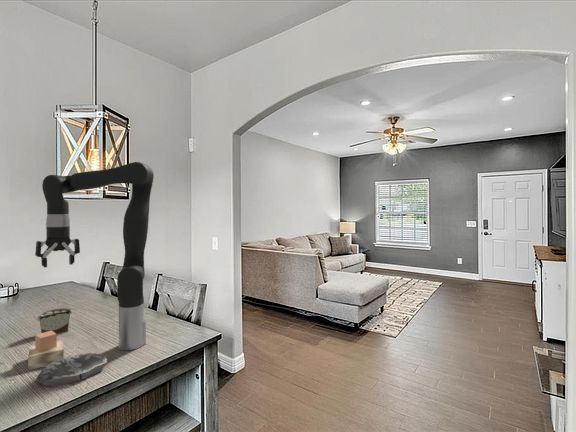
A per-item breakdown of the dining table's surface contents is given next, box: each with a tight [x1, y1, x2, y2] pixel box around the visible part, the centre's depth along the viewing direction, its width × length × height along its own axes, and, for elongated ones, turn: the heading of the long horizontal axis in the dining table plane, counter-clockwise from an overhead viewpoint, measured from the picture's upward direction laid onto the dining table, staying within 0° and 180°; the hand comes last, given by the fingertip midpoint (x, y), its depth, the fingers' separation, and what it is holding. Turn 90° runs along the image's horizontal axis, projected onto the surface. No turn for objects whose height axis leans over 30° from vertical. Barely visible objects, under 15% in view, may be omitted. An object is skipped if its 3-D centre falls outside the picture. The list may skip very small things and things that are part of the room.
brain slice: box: [37, 352, 108, 388], centre depth 107 cm, size 20×17×3 cm
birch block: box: [27, 339, 65, 371], centre depth 116 cm, size 10×10×5 cm
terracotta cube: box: [34, 331, 58, 352], centre depth 116 cm, size 5×5×5 cm
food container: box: [37, 307, 73, 335], centre depth 139 cm, size 12×6×10 cm, turn 141°
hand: (58, 265), depth 125 cm, fingers open, 8 cm apart
